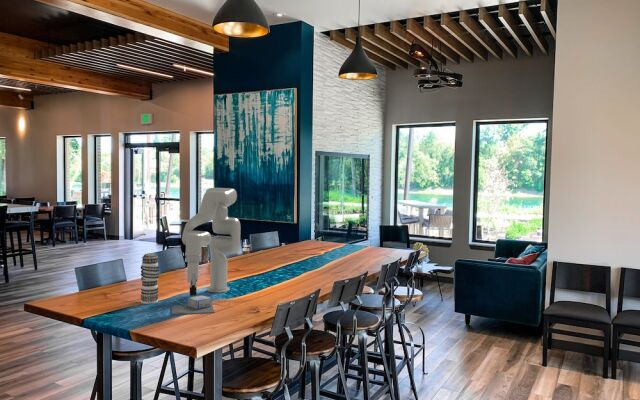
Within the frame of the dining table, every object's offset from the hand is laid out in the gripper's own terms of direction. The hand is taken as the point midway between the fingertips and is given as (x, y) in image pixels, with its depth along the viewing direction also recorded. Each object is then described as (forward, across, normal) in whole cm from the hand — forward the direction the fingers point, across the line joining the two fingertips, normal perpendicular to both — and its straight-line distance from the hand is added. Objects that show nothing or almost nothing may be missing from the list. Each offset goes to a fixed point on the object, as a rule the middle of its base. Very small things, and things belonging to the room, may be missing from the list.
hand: (192, 295), depth 235 cm
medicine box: (+5, -8, +1) cm, 10 cm away
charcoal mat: (+8, 0, 0) cm, 8 cm away
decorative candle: (+8, -20, -21) cm, 30 cm away
